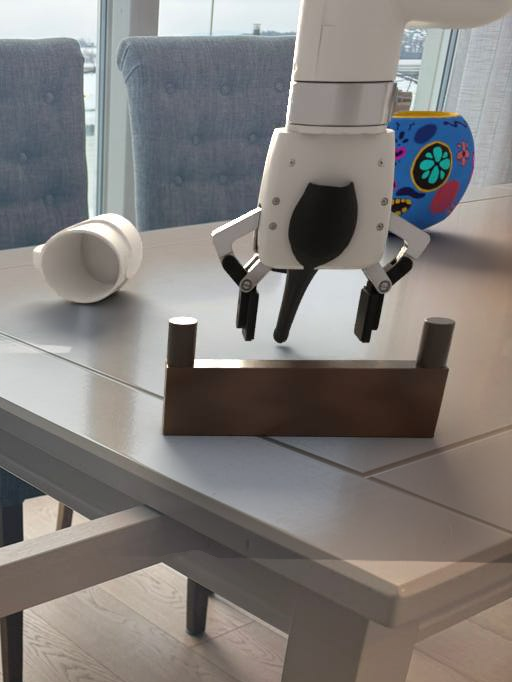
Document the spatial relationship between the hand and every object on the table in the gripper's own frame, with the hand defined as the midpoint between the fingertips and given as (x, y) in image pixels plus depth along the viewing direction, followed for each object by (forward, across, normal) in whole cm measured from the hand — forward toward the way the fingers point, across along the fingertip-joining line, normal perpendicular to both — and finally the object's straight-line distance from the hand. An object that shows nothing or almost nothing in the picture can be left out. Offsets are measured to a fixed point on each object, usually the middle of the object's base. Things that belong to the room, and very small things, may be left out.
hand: (304, 337), depth 80 cm
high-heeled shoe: (-3, 0, -14) cm, 14 cm away
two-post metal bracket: (+3, +3, +15) cm, 16 cm away
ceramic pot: (+2, -24, -67) cm, 71 cm away
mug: (+3, +20, -28) cm, 34 cm away
